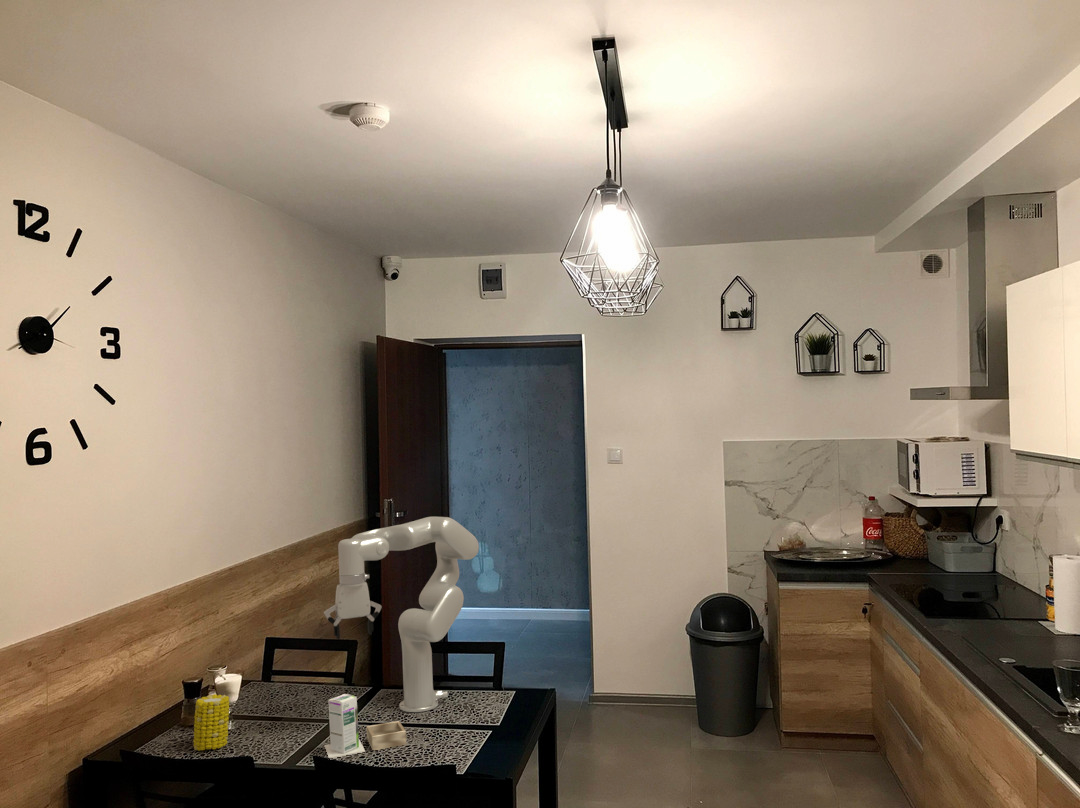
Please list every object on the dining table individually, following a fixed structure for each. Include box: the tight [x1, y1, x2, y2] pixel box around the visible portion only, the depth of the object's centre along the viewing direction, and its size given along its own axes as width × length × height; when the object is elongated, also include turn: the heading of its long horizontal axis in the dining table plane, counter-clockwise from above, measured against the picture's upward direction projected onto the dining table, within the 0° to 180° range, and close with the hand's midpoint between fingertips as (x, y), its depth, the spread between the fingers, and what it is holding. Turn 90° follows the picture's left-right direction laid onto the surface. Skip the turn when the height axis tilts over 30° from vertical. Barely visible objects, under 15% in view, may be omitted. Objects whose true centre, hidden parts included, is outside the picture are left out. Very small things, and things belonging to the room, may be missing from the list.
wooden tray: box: [366, 720, 407, 751], centre depth 241 cm, size 10×10×4 cm
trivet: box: [323, 739, 366, 760], centre depth 237 cm, size 10×10×1 cm
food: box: [192, 693, 230, 751], centre depth 245 cm, size 15×12×10 cm
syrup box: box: [328, 693, 360, 754], centre depth 237 cm, size 6×6×14 cm
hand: (353, 636), depth 254 cm, fingers open, 9 cm apart
